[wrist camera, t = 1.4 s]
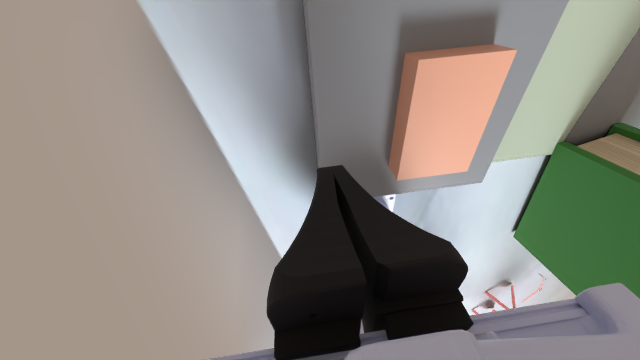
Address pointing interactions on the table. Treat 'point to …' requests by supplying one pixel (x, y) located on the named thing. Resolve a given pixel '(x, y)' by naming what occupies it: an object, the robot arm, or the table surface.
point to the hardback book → (588, 212)
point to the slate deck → (386, 71)
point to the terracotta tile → (445, 108)
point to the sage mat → (569, 74)
